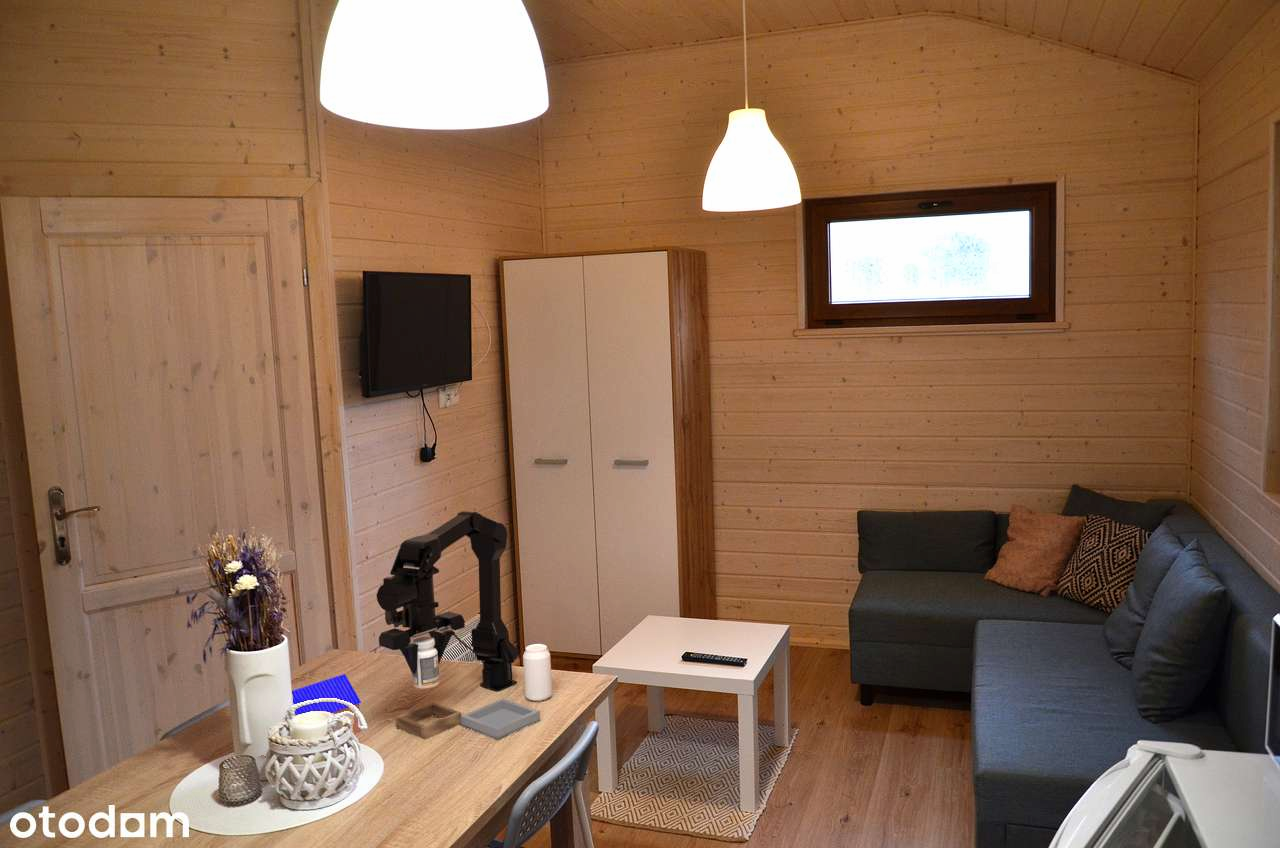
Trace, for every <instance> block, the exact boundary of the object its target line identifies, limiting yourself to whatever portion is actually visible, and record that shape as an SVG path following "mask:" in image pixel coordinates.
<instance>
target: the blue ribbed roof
mask: <svg viewBox="0 0 1280 848" xmlns="http://www.w3.org/2000/svg"><path fill="white" fill-rule="evenodd" d="M346 675H347V674H345V673H343V674H341V675H337V676H334V677H331V678H328V679H325V680H320V681H319V682H315V683H312V684H309V685H306V686H303V687H302V686H301V687H300V688H297V689H294V690H291V691H292V694H293V703H294V704H297V703H300V702H304V701H307V700H314V699H319V698H337V699H340V700H344V701H347V702H350V703H352V704H353V705H355V706H356V707H357V708H358V709H359V711H360V710H361V709H360V704H361V703H362V701H361V700H360V698H359V696H358V694H357V693H356V691H355V689H354V687H353V685H352V684H351V682H350V681H349V678H348V676H346ZM310 711H327V712H330V713H334V714H337V713H341V712H344V711H350V712H352V713H353V711H352V710H351V709H350V708H349V707H348V706H346V705H344V704H341V703H337V702H319V703H313V704H309V705H305V706H302V707H300V708H298V709H296V711H295V714H296V715H298V714H302V713H306V712H310ZM360 712H361V711H360ZM353 731H354V733H355V734H354V735H356V734H358V733H361V732H362V728H361V729H360V728H359V727H358V718H357V717H356V715H355V714H354V724H353ZM360 731H361V732H360Z"/></svg>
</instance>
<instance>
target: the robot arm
mask: <svg viewBox="0 0 1280 848" xmlns="http://www.w3.org/2000/svg"><path fill="white" fill-rule="evenodd" d="M465 536H466V537H467V538H468V539H469V540H470V546H471V550H472V552H473V553H474V555H475V557H476V558H477V560H478V561H477V562H478V592H479V593H478V595H479V596H478V598H479V621H478V623H477V625H476V627H475V628H472V629H471V630H470V631H471V632H470V635H471V643H470V647H472V650H473V652H474V654H475V658H476V661H479V662H480V661H481V662H482V670H481V671H482V672H481V673H482V682H480V683H479V686H480V687H483V688H486V689H489V690H492V691H496V692H498V691H501V690H504V689H506V688H508V687H511V686H514V685H516V684H518V681H517V680H515V679H513V668H512V667H513V666H512V665H513V664H514V663H515V661H516V660H517V659H518V654H519V650H518V648H517V647H516V646H515V645H514V644H513V643H512V642H511V641H510V636H509V634H510V633H509V630H508V628H507V626H506V624H505V623H504V622H503V620H502V604H501V602H502V601H501V593H502V592H501V558H502V556H503V554H504V552H505V550H506V549H507V542H508V541H507V540H508V530H507V527H506V526H505V525H504V524H503V523H502V522H497V521H495V520H492V519H490V518H488V517H486V516H484V515H483V514H481V513H479V512H476V511H467V510H466V511H465V510H463V511H461V512H458V513H457V514H456V516H453V518H451V519H450V520H448V521H447V522H445V523H443V524H441V525H440V526H438V527H437V528H435V529H433V530H432V531H431V532H428V533H427V534H423V535H418V536H414V537H411V538H407V539H405V540H404V541H403V542H402V543H401V544H400V546H399V549H398V551H397V553H396V554H397V555H396V556H395V560H394V562H393V565H392V568H391V570H390V575H391V576H386V577H384V578H383V581H382V582H383V584H381V585H380V586H379V587H378V590H377V592H376V601H377V603H378V605H379V607H380V608H381V609H382V610H384V620H385V623H386V625H388V626H391V625H393V627H394V628H390V629H388V630H385V631H383V632H380V634H379V636H378V646H379V647H382V648H386V649H389V650H392V651H398V650H399V651H400V652H401V654H402V656H403V658H404V659H405V661H406V663H407V665H408V668H409V669H410V672H411V674H412V673H414V674H415V673H416V670H417V657H418V645H417V644H414V640H415V639H414V638H417V637H419V636H420V637H421V636H422V635H425V634H429V637H432V638H434V640H435V645H434V648H435V649H436V650H437V652H438V666H439V665H440V663H441V660H442V658H443V655H444V653H445V651H446V648H447V646H448V644H449V642H450V640H451V638H452V636H454V635H455V633H456V632H455V631H458V630H462V629H463V628H465V627H466V625H465V618H464V616H463V615H462V614H459V613H456V612H452V611H447V612H446V611H445V612H443V613H439V614H436V608H439V601H435V589H434V575H436V574H439V573H440V569H439V568H437V567H436V566H434V565H435V564H437V562H438V561H439V560H440V559H441V557H442V553H443V551H445V550H446V549H448V548H449V547H450V546H452V545H454V544H455V543H457V542H458V541H460V540H461V539H462V538H464V537H465ZM400 608H402V610H399V609H400ZM398 610H399V611H398ZM399 626H402V628H405V629H406V628H408V629H406V630H402V629H398V627H399ZM451 629H452V630H451Z"/></svg>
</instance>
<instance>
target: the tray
mask: <svg viewBox="0 0 1280 848" xmlns="http://www.w3.org/2000/svg"><path fill="white" fill-rule="evenodd" d="M461 715H462V716H461V724H460V725H461V727H462V726H463V727H462V728H464V727H466V728H465V729H467V728H469V729H468V730H470V729H472V730H474V731H473V732H475V731H476V732H475V733H478V732H479V733H478V734H480V733H481V735H483V734H484V735H483V736H485V735H486V737H488V736H489V737H488V738H491V737H492V738H491V739H493V738H494V739H493V740H496V741H500V740H502V739H505V738H506V737H508V735H509V734H511V733H513V732H515V731H517V732H519V731H518V730H520V729H522V728H524V727H526V726H528V727H530V726H529V725H531V724H533V723H535V724H537V723H539V722H541V712H540V709H539V710H538V709H535V708H534V707H533V708H532V707H529V706H526V705H525V704H524V705H523V704H521V703H517V702H514V701H511V700H508V699H505V698H501V699H499V700H496V701H494V702H492V703H490V704H487V705H484V706H482V707H480V708H476V709H475V710H471V711H470V712H468V713H465V714H461ZM538 721H539V722H538ZM536 722H537V723H536ZM533 725H534V724H533ZM531 726H532V725H531ZM526 728H527V727H526ZM524 729H525V728H524ZM472 730H471V731H472ZM522 730H523V729H522ZM520 731H521V730H520ZM515 733H516V732H515ZM513 734H514V733H513ZM511 735H512V734H511ZM509 736H510V735H509Z"/></svg>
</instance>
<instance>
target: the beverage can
mask: <svg viewBox="0 0 1280 848" xmlns="http://www.w3.org/2000/svg"><path fill="white" fill-rule="evenodd" d="M551 661H552V660H551V653H550V651H549V649H548V646H547V645H546V644H543V643H533V644H530V645H526V647H525V651H524V653H523V655H522V663H523V664H522V665H523V666H522V667H523V681H524V682H523V684H524V696H525V698H527V699H528V700H529V701H531V700H532V701H531V702H535V701H539V702H543V701H542V700H544V701H546V700H548V699H549V698H550V697H551V696H552V695H553V683H552V663H551ZM547 698H548V699H547ZM545 699H546V700H545Z"/></svg>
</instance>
